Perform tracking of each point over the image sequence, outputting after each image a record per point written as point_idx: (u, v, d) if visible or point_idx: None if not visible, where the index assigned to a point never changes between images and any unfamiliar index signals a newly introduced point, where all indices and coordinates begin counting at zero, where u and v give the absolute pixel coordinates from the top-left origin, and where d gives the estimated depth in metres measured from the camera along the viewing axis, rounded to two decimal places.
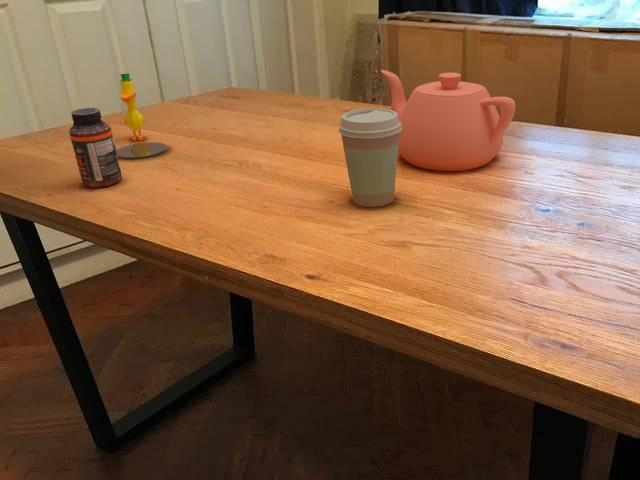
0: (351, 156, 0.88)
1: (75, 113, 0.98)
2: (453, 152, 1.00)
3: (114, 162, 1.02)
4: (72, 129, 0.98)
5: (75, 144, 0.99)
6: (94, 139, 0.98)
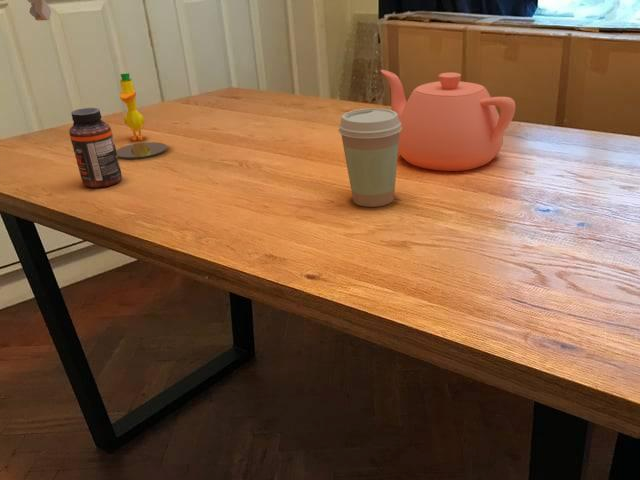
0: (351, 156, 0.88)
1: (75, 113, 0.98)
2: (453, 152, 1.00)
3: (114, 162, 1.02)
4: (72, 129, 0.98)
5: (75, 144, 0.99)
6: (94, 139, 0.98)
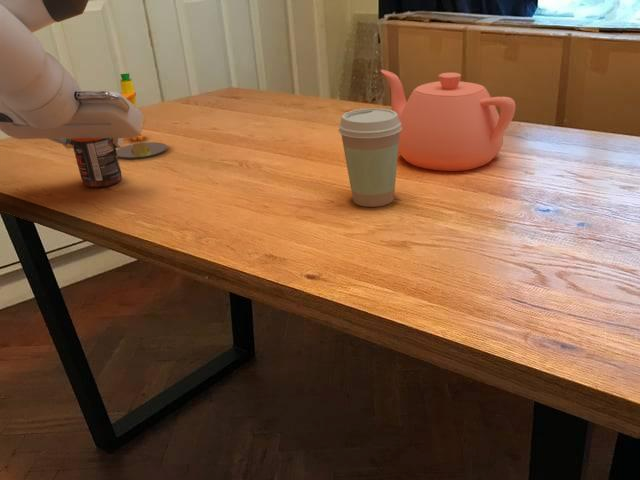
0: (351, 156, 0.88)
1: None
2: (453, 152, 1.00)
3: (114, 162, 1.02)
4: None
5: (75, 145, 0.99)
6: (94, 139, 0.98)
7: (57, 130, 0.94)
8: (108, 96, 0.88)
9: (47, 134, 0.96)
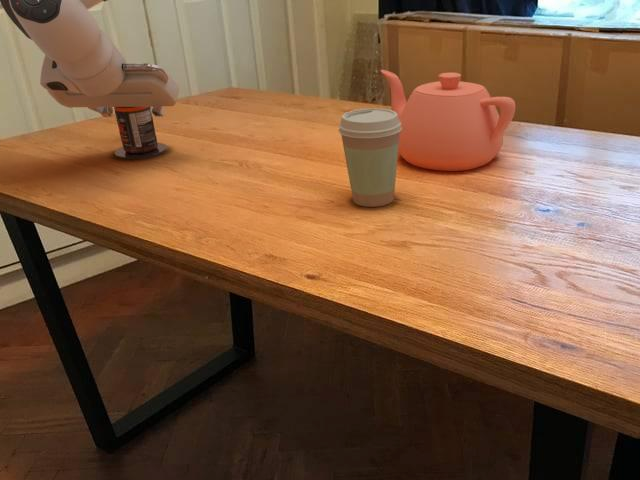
0: (351, 156, 0.88)
1: None
2: (453, 152, 1.00)
3: (152, 131, 1.16)
4: None
5: (119, 115, 1.13)
6: (135, 109, 1.12)
7: (103, 99, 1.08)
8: (151, 67, 1.02)
9: (94, 103, 1.09)
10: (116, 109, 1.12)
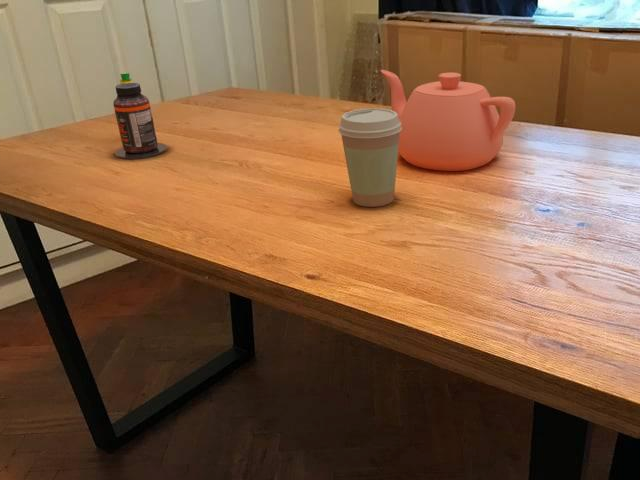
0: (351, 156, 0.88)
1: (119, 87, 1.11)
2: (453, 152, 1.00)
3: (152, 131, 1.16)
4: (116, 101, 1.12)
5: (119, 115, 1.13)
6: (135, 109, 1.12)
7: None
8: None
9: None
10: (116, 109, 1.12)
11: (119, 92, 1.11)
